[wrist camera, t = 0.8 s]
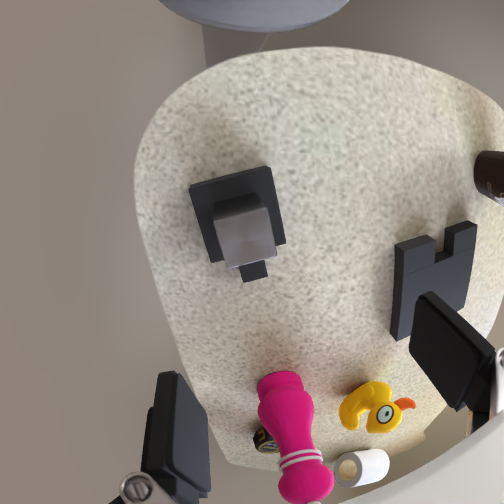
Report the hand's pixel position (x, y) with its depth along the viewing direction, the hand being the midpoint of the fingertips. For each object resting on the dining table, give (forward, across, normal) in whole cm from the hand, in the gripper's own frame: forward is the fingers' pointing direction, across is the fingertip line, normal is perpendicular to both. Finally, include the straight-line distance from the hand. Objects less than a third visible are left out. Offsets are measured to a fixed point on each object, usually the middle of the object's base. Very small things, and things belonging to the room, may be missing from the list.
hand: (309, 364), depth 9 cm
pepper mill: (+18, +2, +24) cm, 30 cm away
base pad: (+18, -22, +14) cm, 32 cm away
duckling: (+18, -11, +32) cm, 38 cm away
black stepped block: (+18, +1, 0) cm, 18 cm away
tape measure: (+18, +5, +36) cm, 40 cm away
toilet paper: (+18, -12, +65) cm, 68 cm away
